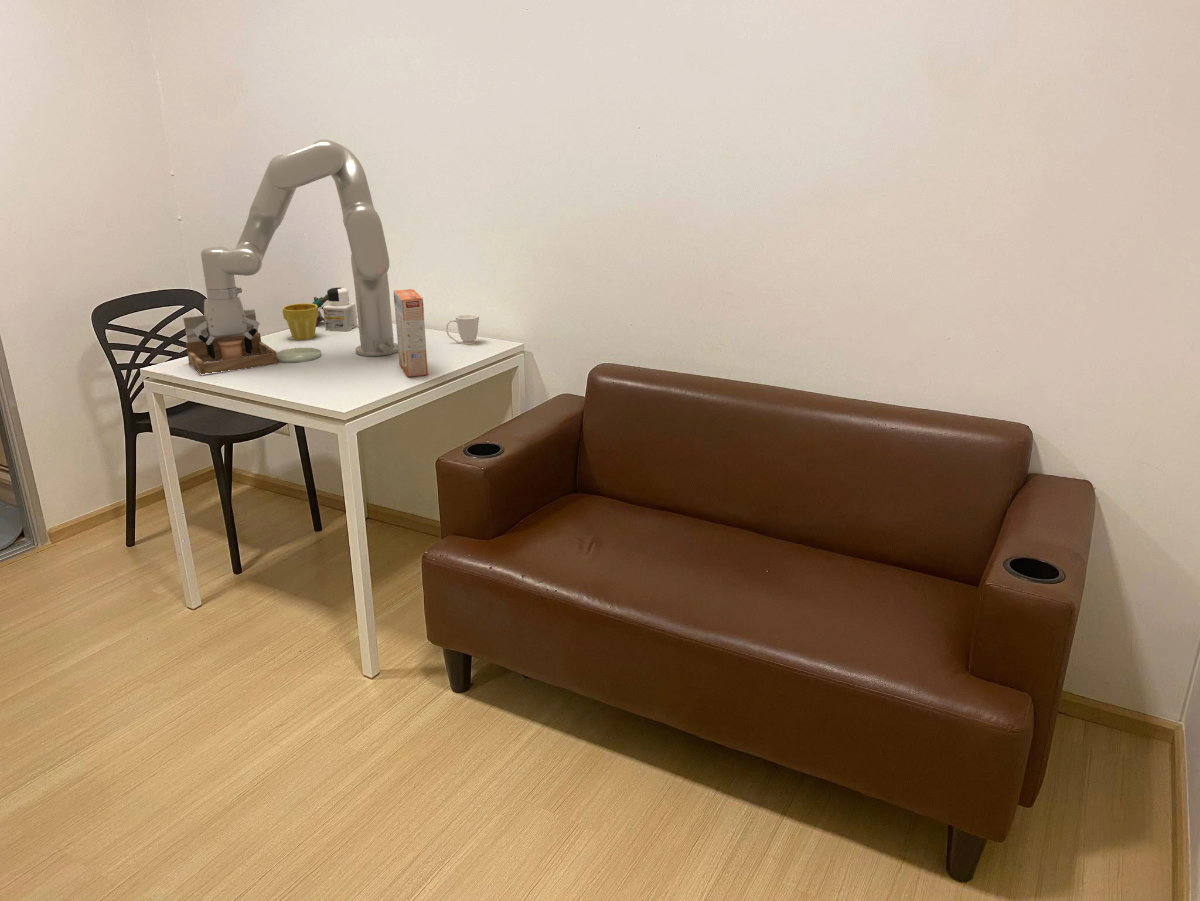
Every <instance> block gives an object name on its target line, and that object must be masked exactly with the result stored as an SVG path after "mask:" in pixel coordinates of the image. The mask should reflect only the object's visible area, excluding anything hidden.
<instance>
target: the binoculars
mask: <svg viewBox="0 0 1200 901" xmlns="http://www.w3.org/2000/svg"><path fill="white" fill-rule="evenodd" d="M326 302H328V295H327V294H325V295H324V296H323V297H322V296H320V297H317V296H313V301H312V303H311V304H316V305H317V306H318V314H319V316H318V317H317V321H316V327H318V325H320V324H321V323H322V321H323V322H324V323H325V320H324V316H322V313H321V309H322V310H323V307H325V305H324V304H325V303H326Z"/></svg>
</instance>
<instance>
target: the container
mask: <svg viewBox="0 0 1200 901" xmlns="http://www.w3.org/2000/svg"><path fill="white" fill-rule="evenodd" d="M326 292H327V293H326V295H328V300H327V303H328V304H327V305H324V307H323V306H322V307H323V309H322V312H323V318H324V320H325V322H324V325H325V326H324V327H325V331H327V330H330V331H329V332H331V331H333V332H334V331H335V332H350V331H351V330H352V328H353V329H354V327H355V326H356V327H358V315H357V306H356V302H350V295H349V293H350V292H349V289H347V288H346V287H331V288H329V289H328V290H327V291H326ZM356 327H355V328H356Z"/></svg>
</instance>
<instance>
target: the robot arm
mask: <svg viewBox="0 0 1200 901" xmlns="http://www.w3.org/2000/svg"><path fill="white" fill-rule="evenodd" d="M330 176H331V177H332V179H333V181H334V183H335V187H336V191H337V195H338V199H339V203H340V208H341V213H342V223H343V226H344V228H345V230H346V231H345V232H346V235H347V240H348V244H349V247H350V252H351V254H350V261H351V262H350V263H351V264H350V265H351V271H352V277H353V284H354V295H355V306H356V316H357V325H358V330H359V331H358V332H359V339H360V340H359V341H360V345H358V346H356V348H355V353H356V354H357V355H360V356H365V357H381V356H382V357H383V356H388V355H392V354H396V353H397V352H398V343H395V340H394V330H393V318H392V307H391V305H392V304H391V298H390V297H391V295H390V294H391V293H390V284H389V274H388V271H389V269H390V257H389V252H388V247H387V242H386V237H385V233H384V228H383V224H382V220H381V218H380V215H379V214H378V212H377V211H376V209H375V207H374V202H373V199H372V194H371V191H370V190H371V189H370V187H369V183H368V179H367V175H366V172H365V169H364V168H363V166H362V163H361V162H360V160H359V159H358V158H357V156H355V154H354V153H353V151H350V149H348V148H347V147H345V146H344V145H342V144H339V143H337V142H335V141H332V140H329V139H319V140H316V141H314V142H313V144H311V145H308V146H306V147H303V148H301V149H298V150H295V151H292V152H289V153H287V154H286V153H285V154H278V155H275V156H273V158H271V160H269V163H268V164H267V168H266V169H265V173H264V174H263V176H262V179H261V182H260V184H259V187H258V188H257V191H256V193H255V196H254V198H253V201H252V203H251V205H250V208H249V212H248V213H249V214H248V217H247V220H246V223H245V225H244V228H243V230H242V233H241V235H240V237H239V240H238V241H237V244H236V246H235V249H229V248H227V247H223V246H213V247H211V246H210V247H206V248H204V249H202V250H201V252H200V258H201V264H202V271H203V272H202V273H203V278H204V284H205V290H206V299H204V302H203V313H204V314H203V315H204V317H205V322H203V323H202V324H200V325H199V326H197V327H196V328H194V329H193V332H194V333H195V334H196V336H197V337H198V338H199V339H200V340H202V341H203V342H204V343H206V348H207V354H208V356H209V355H210V357H211V358H212V359H215V353H214V346H213V344H212V341H213V339H214V338H215V337H221V336H229V335H237V334H243V335H244V336H245V339H244V343H245V350H246V352H247V353H249V354H251V350H252V349H253V348H252V341H251V339H252V338H253V336H254V335H255V333H256V332H257V329H259V327H260V322H259V321H257V320H256V321H255V320H252V319H249V318H246V317H245V314H244V310H245V309H244V307H243V304H242V300H241V298H240V296H238V295H239V294H240V293H241V294H242V293H243V289H242V288H241V287H237V285H236V280H235V278H236V277H235V276H245V277H246V276H247V277H248V276H254V275H256V274H257V273H259V272H260V270H261V269H262V266H263V259H264V257H265V255H266V252H267V250H268V248H269V244H270V242H271V240H272V238H273V237H274V235H275V232H276V231H277V229H278V228H279V226H280V225H281V224H282V222H283V220H284V219H285V216H286V213H287V212H288V208H289V206H290V204H291V201H292V199H293V197H294V194H295V192H296V190H297V188H300V187H303V186H306V185H309V184H310V183H314V182H316V181H319V180H322V179H324V178H327V177H330ZM246 322H247V323H250V324H252V328H251V330H250V331H249V332H247V323H246ZM205 328H206V332H207V333H208V335H207V336H206V338H205V337H204V336H203V335H202V334H201V331H202V330H203V329H205Z"/></svg>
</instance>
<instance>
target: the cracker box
mask: <svg viewBox="0 0 1200 901" xmlns="http://www.w3.org/2000/svg"><path fill="white" fill-rule="evenodd" d="M423 298H424V297H422V296H421V295H420V294H419V293H418V292H417V291H416V290H415V289H397V290H396V289H395V290H393V301H394V302H393V303H394V311H395V312H394V314H395V326H396V336H397V337H396V338H397V340H396V341H397V344H398V362H399V363H398V364H399V366H400V368H401V369H402V371H403V372H404V374H405V376H407V377H408V378H409V377H421V376H428V375H429V369H428V355H427V354H428V352H427V341H426V338H427V337H426V327H425V313H424V312H425V310H424V299H423Z"/></svg>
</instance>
